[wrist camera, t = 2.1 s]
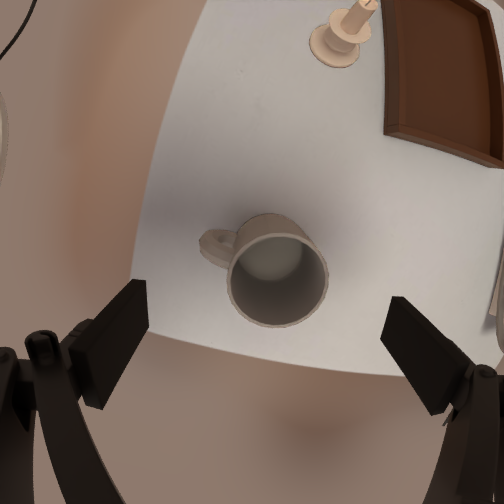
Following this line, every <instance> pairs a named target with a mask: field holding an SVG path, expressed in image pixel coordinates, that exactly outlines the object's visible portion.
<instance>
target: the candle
mask: <svg viewBox="0 0 504 504" xmlns="http://www.w3.org/2000/svg"><path fill="white" fill-rule="evenodd" d="M377 8H378V4H377V2H376V1H375V0H358V1H357V2H356V3H355V4H354V5H353V6H352V8H351V9H337V10H335V11H333V12H332V14H331V15H330V17H329V25H322V26H319V27H318V28H316V29H315V30H314V31H313V32H312V34H311V37H310V48H311V51H312V52H313V54H314V55H315V57H316V58H317V59H318V60H319V61H321V62H323V63H324V64H326V65H328V66H331V67H336V68H345V67H348V66H350V65H352V64H353V63H354V62H355V61H356V60H357V58H358V56H359V53H360V51H359V45H358V44H361V43H364V42H366V41H367V40H368V39H369V38H370V36H371V27H370V24H369V23H368V21H367V20H368V19H369V18H370V16H371V15H372V14H373V12H374V11H375V10H376V9H377Z"/></svg>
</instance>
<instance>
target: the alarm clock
mask: <svg viewBox="0 0 504 504" xmlns="http://www.w3.org/2000/svg"><path fill="white" fill-rule="evenodd" d="M489 314H491V315H493V316H496V335H497V340H498V344H499V347H500V349H501V350H502V352H503V353H504V249H503V255H502V260H501V265H500V270H499V275H498V279H497V283H496V287H495V291H494V295H493V299H492V303H491V306H490V310H489Z"/></svg>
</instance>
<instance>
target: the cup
mask: <svg viewBox="0 0 504 504" xmlns="http://www.w3.org/2000/svg"><path fill="white" fill-rule="evenodd" d="M199 244H200V252H201V253H202V255H203V256H204V257H205V258H206V259H208V260H209V261H210V262H212V263H214V264H216V265H218V266H220V267H222V268H225V269H228V274H227V292H228V295H229V297H230V300H231V303H232V305H233V306H234V307H235V309H236V310H237V311H238V313H239V314H240V315H242V316H243V317H244V318H246V319H247V320H248V321H250V322H252V323H254V324H257V325H259V326H262V327H268V328H285V327H289V326H292V325H295V324H298V323H300V322H302V321H303V320H305V319H307V318H309V317H310V316H311V315H312V314H313V313H314V312H315V311H316V310H317V309H318V308H319V306H320V305H321V303H322V301H323V300H324V298H325V295H326V292H327V289H328V282H329V273H328V268H327V264H326V261H325V259H324V258H323V256H322V254H321V252H320V251H319V250H318V248H317V247H316V246H315V245H314V244H313V243H312V241H311V240H310V239H309V238H308V237H307V236H306V234H305V233H304V232H303V231H302V230H301V229H300V228H299V227H298V226H297V225H296V224H295V223H294V222H293V221H291V220H290V219H288V218H286V217H284V216H281V215H276V214H263V215H260V216H257V217H254V218H252V219H251V220H249V221H247V222H246V223H245V224H244V225H243V226H242V227H241V228H240V229H239V231H238V233H237V234H236V233H233V232H230V231H226V230H209V231H206V232H205V233H204V234H203V236H202V237H201V238H200V240H199Z"/></svg>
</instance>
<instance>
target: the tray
mask: <svg viewBox="0 0 504 504" xmlns="http://www.w3.org/2000/svg"><path fill="white" fill-rule="evenodd" d="M381 6H382V16H383V29H384V47H385V117H384V135H387V136H391V137H395V138H399V139H403V140H407V141H410V142H414V143H418V144H421V145H425V146H428V147H431V148H435V149H438V150H441V151H444V152H447V153H450V154H453V155H456V156H459V157H462V158H465V159H468V160H470V161H473V162H476V163H478V164H481V165H484V166H486V167H489V168H498V169H504V82H503V74H502V67H501V60H500V54H499V49H498V44H497V39H496V34H495V30H494V26H493V22H492V18H491V14H490V11H489V10H488V9H487V8H485V7H484V6H483V5H481V4H479V3H478V2H476V1H475V0H381Z"/></svg>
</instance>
